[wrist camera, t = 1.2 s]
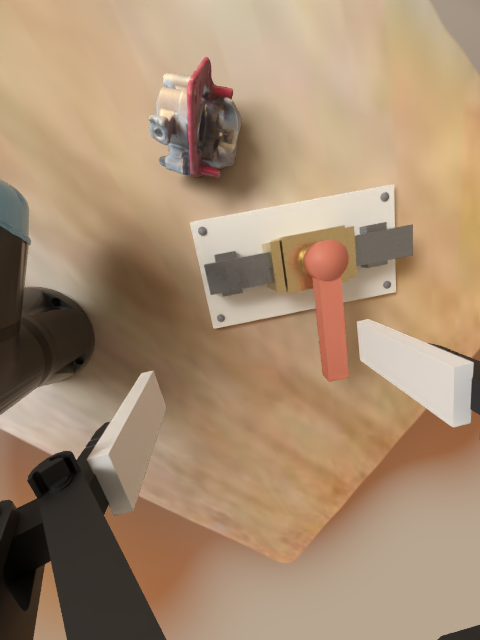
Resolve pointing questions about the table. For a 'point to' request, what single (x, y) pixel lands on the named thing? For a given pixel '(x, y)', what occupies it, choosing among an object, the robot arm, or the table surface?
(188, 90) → the brake caliper
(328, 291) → the lever
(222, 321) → the mount board
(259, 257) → the pipe valve
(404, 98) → the table surface
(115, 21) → the table surface
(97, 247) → the table surface
